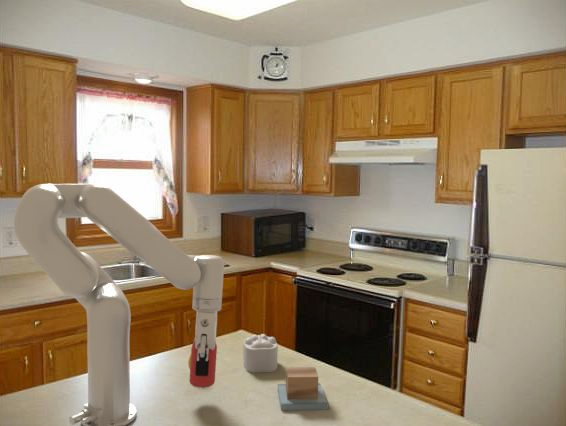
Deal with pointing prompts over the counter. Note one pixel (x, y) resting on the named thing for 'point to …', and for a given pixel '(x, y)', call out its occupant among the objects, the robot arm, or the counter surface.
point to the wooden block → (301, 383)
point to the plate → (301, 400)
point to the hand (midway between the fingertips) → (202, 369)
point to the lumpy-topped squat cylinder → (260, 353)
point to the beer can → (210, 379)
